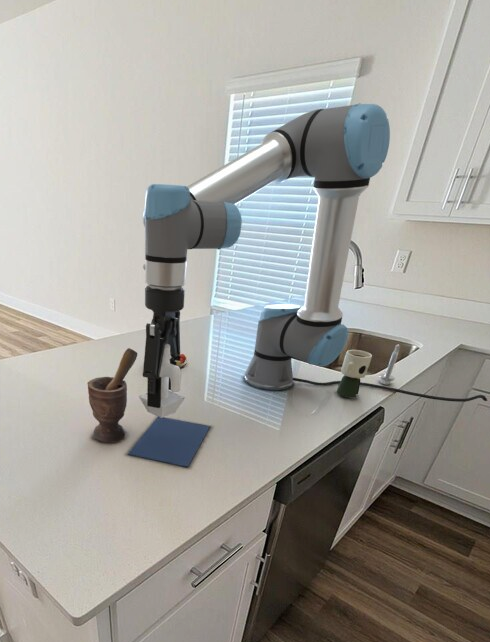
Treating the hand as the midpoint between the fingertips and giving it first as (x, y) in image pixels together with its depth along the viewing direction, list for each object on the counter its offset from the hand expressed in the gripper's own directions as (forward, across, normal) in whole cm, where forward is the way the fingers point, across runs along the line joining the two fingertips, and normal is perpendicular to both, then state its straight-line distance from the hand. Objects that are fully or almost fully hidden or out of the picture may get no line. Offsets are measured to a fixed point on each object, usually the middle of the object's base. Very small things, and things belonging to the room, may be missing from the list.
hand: (161, 397), depth 88 cm
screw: (+11, -65, +56) cm, 86 cm away
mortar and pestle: (+12, 0, -12) cm, 17 cm away
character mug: (+12, -49, +43) cm, 66 cm away
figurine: (+4, 0, 0) cm, 4 cm away
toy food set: (+12, -52, -16) cm, 56 cm away
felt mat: (+11, -2, +2) cm, 12 cm away
